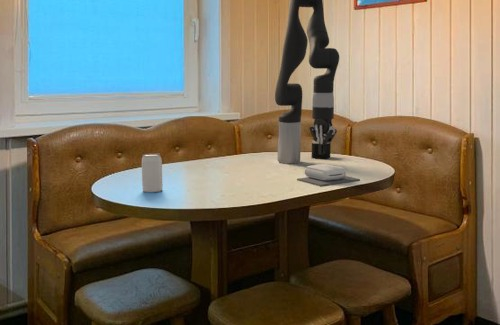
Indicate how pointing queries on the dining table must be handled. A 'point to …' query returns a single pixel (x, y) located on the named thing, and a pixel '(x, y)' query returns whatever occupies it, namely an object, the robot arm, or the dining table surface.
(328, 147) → the sushi
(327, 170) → the photo printer
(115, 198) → the dining table surface
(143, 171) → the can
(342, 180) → the mat
